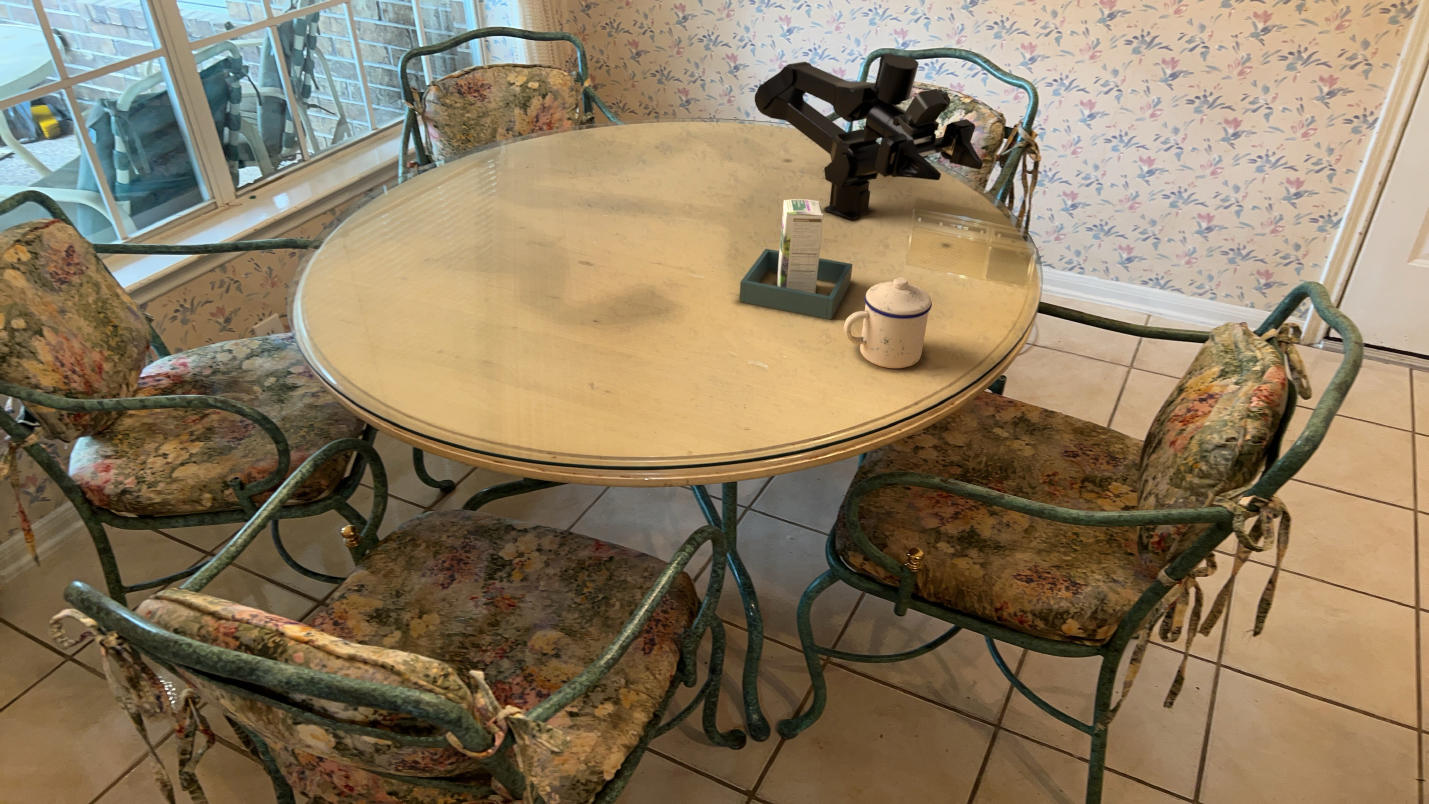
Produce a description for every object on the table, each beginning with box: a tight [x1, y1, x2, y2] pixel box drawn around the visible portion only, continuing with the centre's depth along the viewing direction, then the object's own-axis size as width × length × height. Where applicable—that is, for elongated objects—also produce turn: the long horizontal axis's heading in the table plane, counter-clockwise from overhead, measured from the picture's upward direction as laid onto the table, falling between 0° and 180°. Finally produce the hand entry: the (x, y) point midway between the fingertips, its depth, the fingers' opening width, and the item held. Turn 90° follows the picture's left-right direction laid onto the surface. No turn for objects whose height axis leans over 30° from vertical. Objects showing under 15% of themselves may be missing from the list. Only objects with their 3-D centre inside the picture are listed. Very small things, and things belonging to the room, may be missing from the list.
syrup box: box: [776, 198, 824, 293], centre depth 138 cm, size 6×6×14 cm
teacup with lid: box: [843, 276, 933, 369], centre depth 125 cm, size 12×9×12 cm
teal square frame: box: [739, 248, 853, 320], centre depth 142 cm, size 13×15×4 cm
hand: (960, 171), depth 142 cm, fingers open, 9 cm apart
